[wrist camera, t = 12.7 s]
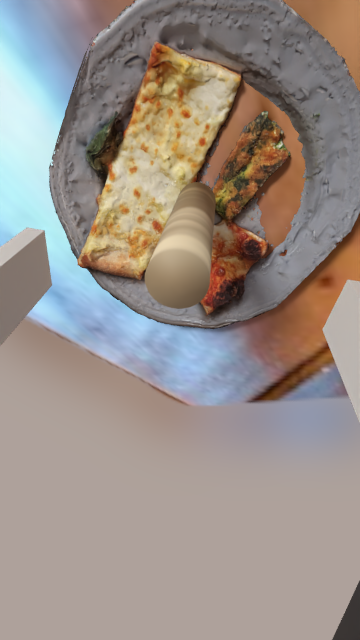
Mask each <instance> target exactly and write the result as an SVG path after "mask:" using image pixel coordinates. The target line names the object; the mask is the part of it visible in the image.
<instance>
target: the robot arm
mask: <svg viewBox="0 0 360 640" xmlns="http://www.w3.org/2000/svg"><path fill="white" fill-rule="evenodd" d="M51 286H52V282H51V275H50V268H49V261H48V253H47V246H46V239H45V232H44V230H38V229H32V228H26V229H24V230H23V231H22V232H20V233H19V234H18V235H16V236H15V237H14V238H12V239H11V240H9V241H8V242H7V243H5V244H4V245H3V246H1V247H0V346H1V345H2V343H3V342H4V341H5V340H6V339H7V338H8V336H9V335H10V334H11V333H12V332H13V330H14V329H15V328H16V327H17V326H18V325H19V323H20V322H21V321H22V320H23V319H24V318H25V316H26V315H27V314H28V313H29V312H30V310H31V309H32V308H33V307H34V306H35V305H36V303H37V302H38V301H39V300H40V299H41V298H42V296H43V295H44V294H45V293H46V292H47V290H48V289H49V288H50V287H51ZM323 332H324V335H325V337H326V340H327V342H328V345H329V347H330V350H331V352H332V355H333V358H334V360H335V363H336V365H337V368H338V370H339V373H340V375H341V378H342V380H343V383H344V385H345V388H346V390H347V393H348V395H349V398H350V400H351V403H352V405H353V408H354V410H355V413H356V415H357V418H358V420H359V423H360V282H359V281H353V280H347V282H346V284H345V286H344V288H343V290H342V292H341V294H340V296H339V298H338V300H337V302H336V304H335V306H334V308H333V310H332V312H331V314H330V316H329V318H328V320H327V322H326V324H325V326H324V328H323ZM332 640H360V581H359V583H358V585H357V587H356V590H355V592H354V594H353V596H352V598H351V600H350V603H349V605H348V607H347V609H346V611H345V614H344V616H343V618H342V620H341V622H340V624H339V626H338V629H337V631H336V633H335V635H334V637H333V639H332Z"/></svg>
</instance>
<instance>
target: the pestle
mask: <svg viewBox="0 0 360 640" xmlns="http://www.w3.org/2000/svg"><path fill="white" fill-rule="evenodd" d="M215 206H216V199H215V195H214V193H213V191H212V190H211V188H210V187H209V186H207V185H206V184H203V183H200V182H194V183H190V184H188V185H186V186H185V187H184V188H183V189H182V190H181V192H180V193H179V196H178V198H177V200H176V203H175V205H174V207H173V209H172V212H171V214H170V216H169V218H168V221H167V223H166V225H165V228H164V230H163V232H162V234H161V237H160V239H159V241H158V244H157V246H156V248H155V250H154V253H153V255H152V257H151V260H150V262H149V264H148V266H147V269H146V272H145V284H146V287H147V290H148V292H149V293H150V295H151V296H152V297H153V298H154V299H155V300H156V301H157V302H159V303H160V304H162V305H164V306H167V307H170V308H175V309H184V308H189V307H192V306H194V305H196V304H198V303H199V302H200V301H201V300H202V299H203V298H204V297H205V296H206V294H207V292H208V289H209V284H210V272H211V258H212V245H213V232H214V219H215Z"/></svg>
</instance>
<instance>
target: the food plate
mask: <svg viewBox="0 0 360 640" xmlns="http://www.w3.org/2000/svg"><path fill="white" fill-rule="evenodd" d="M282 1H283V0H137V1H133V4H132V6H131V5H130V6H129V7H128V6H126V8H125V10H123V11H124V12H123V11H122V12H121V14H120V15H118V17H117V18H116V19H115V20H114V21H113V22H112V23H111V24H110V25H109V26H108V27H106V28H105V29H104V30H102V31H101V32H99V34H97V38H95V39H94V40H93V43H92V44H91V50H90V51H89V53H88V57H86V59H87V60H86V59H85V56H86V53H87V51H86V53H85V55H84V58H83V61H82V64H81V67H80V69H79V72H78V75H77V78H76V81H75V84H74V87H73V90H72V93H71V96H70V100H69V103H68V106H67V109H66V112H65V117H64V119H63V122H62V125H61V129H60V132H59V135H58V139H59V141H58V139H57V142H58V143H57V142H56V145H55V149H54V151H56V152H55V154H54V153H53V156H52V160H53V161H54V162H53V161H52V164H53V166H51V163H50V167H49V172H50V173H49V174H50V176H49V177H50V181H49V183H50V184H49V185H50V191H51V196H52V200H53V203H54V207H55V209H56V213H57V215H58V218H59V220H60V222H61V224H62V226H63V228H64V230H65V233H66V235H67V238H68V240H69V243H70V245H71V250H72V251H73V252H72V253H74V255H75V257H76V258H77V260H78V265H79V266H80V267H82V268H86V269H88V271H89V272H90V273H91V274H92V276H93V277H94V279H95V280H96V282H97V283H98V284H99V285H100V286H101V287H102V288H103V289H104V290H106V291H108V292H110V294H111V295H112V296H113V297H114V298H116V299H117V300H120V301H121V302H122V303H124V304H125V305H127V306H128V307H129V308H130V309H132V310H133V311H135V312H136V313H138V314H141V315H144V316H146V317H148V318H149V319H153V320H155V321H157V322H160V323H165V324H170V325H177V326H189V327H199V328H205V329H206V328H210V329H215V328H220V327H224V326H228V325H229V324H232V323H233V324H234V323H235V322H239V321H245V320H248V319H251V318H253V317H257V316H258V315H261V314H262V313H265V312H267V311H269V310H272V309H273V308H275V307H277V305H279V304H280V303H281V302H282V300H284V299H285V298H286V297H287V296H288V295H289V294H290V293H291V292H292V291H293V290H294V289H295V288H296V287H297V286H298V285H299V284H300V283H301V282H302V281H303V280H304V279H305V278H306V277H307V276H308V275H309V274H310V273H311V272H312V271H313V270H314V269H315V268H316V266H318V265H319V263H321V261H323V260H324V259H325V258H326V257H327V256H328V254H329V253H330V252H331V251H332V250H333V249H334V248H335V247H336V243H338V242H339V241H340V242H341V241H342V240H343V239H342V238H343V237H344V236H346V235H347V234H348V233H349V232H350V231H351V230H352V227H353V226H354V223H355V221H356V220H357V218H358V215H359V213H360V92H359V91H358V89H357V86H356V84H355V82H354V80H353V78H352V76H351V75H350V73H349V70H348V69H347V65H346V63H345V59H344V58H343V57H342V59H341V56H338V55H337V51H335V48H334V47H331V45H330V43H329V42H328V40H326V39H325V38H324V37H323V36H322V35H321V34H320V33H318V31H316V30H315V29H314V28H313V27H312V26H311V25H310V24H309V23H307V22H306V21H305V20H304V19H303V18H302V17H301V16H300V15H299V14H297V13H296V12H295V11H294V10H293V9H292V8H291V7H289V6H288V5H287V4H286V3H285V2H282ZM91 40H92V39H91ZM89 45H90V44H89ZM191 49H194V50H193V51H191ZM87 50H88V49H87ZM84 59H85V61H84ZM343 61H344V62H343ZM83 62H84V64H83ZM82 65H83V66H82ZM81 68H82V69H81ZM80 70H81V72H80ZM79 73H80V75H79ZM78 76H79V78H78ZM241 77H242V78H243V79H244V81H245V82H246V83H247V84H249V85H250V86H252V87H253V88H254V89H255V90H257V91H258V92H260V93H261V94H262V95H263V96H265V97H267V98H268V99H269V100H270V101H271V102H273V103H274V104H275V105H276V106H277V107H279V108H280V110H281V111H284V112H285V113H286V114H287V115H288V116H289V118H290V120H291V123H292V125H293V127H294V128H295V130H296V131H297V132H298V133H299V137H298V140H299V142H301V143H303V148H302V151H301V153H302V156H303V157H304V159H305V167H306V169H305V173H304V175H303V178H304V177H306V180H305V183H304V189H303V192H302V193H301V195H302V198H301V200H300V201H301V206H300V208H299V210H298V212H297V215H296V214H294V218H293V220H292V222H291V223H290V224H292V229H291V231H290V232H289V233H288V235H287V237H286V239H285V241H284V242H282V243H281V244H280V245H279V246H277V247H276V248H275V249H274V250H273V252H272V253H271V254H269V255H268V256H267V258H263V259H262V258H261V257H263V256H264V255H265V253H266V252H267V250H268V248H269V247H268V246H269V243H268V240H264V238H265V232H264V231H263V229H264V227H262V226H261V225H260V217H261V213H262V212H261V211H260V209H258V208H259V206H258V205H256V203H257V201H258V198H256V199H254V197H253V195H254V196H256V194H255V192H256V191H257V190H258V188H257V187H260V186H261V187H262V186H263V184H264V183H265V182H266V180H267V179H268V178H269V177H270V176H271V174H272V173H274V172H275V171H276V170H278V168H279V167H280V166H281V165H282V164H283V163H284V162H285V161H286V160H287V158H288V157H290V152H288V150H287V149H286V148H285V145H284V144H283V142H282V137H283V134H284V132H283V131H282V129H281V128H280V127H279V126H278V125H277V122H275V121H272V122H271V121H269V119H268V117H267V116H268V111H263V112H262V113H261V114H260V115H259V116H258V117H256V119H255V120H254V121H252V122H250V123H249V124H248V125H247V126H245V127H244V130H243V131H242V133H240V137H241V138H240V139H239V140H238V142H237V145H236V147H235V149H234V150H232V152H231V153H230V155H229V157H228V159H227V160H226V161H225V162H224V164H223V166H222V169H221V173H219V175H218V178H216V182H214V187H213V188H212V189H211V190H212V191H213V193H214V195H215V199H216V206H215V219H214V232H213V245H212V258H211V272H210V284H209V289H208V292H207V294H206V296H205V297H204V298H203V299H202V300H201V301H200V302H199V303H198V304H196V305H194V306H192V307H189V308H184V309H175V308H170V307H167V306H164V305H162V304H160V303H159V302H157V301H156V300H155V299H154V298H153V297H152V296H151V295H150V293H149V292H148V290H147V287H146V284H145V272H146V269H147V266H148V264H149V262H150V260H151V257H152V255H153V253H154V250H155V248H156V246H157V244H158V241H159V239H160V237H161V234H162V232H163V230H164V228H165V225H166V223H167V221H168V218H169V216H170V214H171V212H172V209H173V207H174V205H175V203H176V200H177V198H178V196H179V193H180V192H181V190H182V189H183V188H184V187H185V186H186V185H188V184H190V183H194V182H196V180H197V179H198V175H197V174H198V172H200V174H201V176H202V175H206V174H207V168H209V167H210V165H209V163H206V158H205V157H206V156H207V155H209V156H212V155H213V152H214V151H215V149H216V147H215V146H218V145H219V144H218V141H219V139H218V138H219V129H221V128H222V127H223V126H226V125H225V123H226V120H227V119H228V117H229V112H231V110H232V107H233V104H234V102H233V101H234V98H235V95H236V93H237V88H238V87H239V86H240V81H241ZM77 79H78V80H77ZM76 82H77V84H76ZM75 85H76V87H75ZM74 88H75V90H74ZM221 133H222V131H221ZM60 135H61V136H60ZM59 136H60V137H59ZM205 163H206V165H205ZM199 182H200V183H203V182H202V181H201V179H200V181H199ZM206 185H207V186H209V182H207V181H206ZM261 195H262V196H263V195H264V193H261ZM252 199H253V200H252ZM251 200H252V201H251ZM243 206H245V207H246V209H244V208H243ZM254 207H255V210H254V211H253V208H254ZM257 212H258V215H257ZM216 213H217V214H216ZM222 217H223V218H222ZM252 217H253V218H254V219H253V221H251V218H252ZM258 231H260V234H259V235H257V234H258ZM270 246H273V244H271V245H270ZM286 249H287V250H288V251H287V254H286V255H285V256H284V257H283V256H279V254H281V253H282V252H284V250H286ZM256 261H257V262H256Z"/></svg>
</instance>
